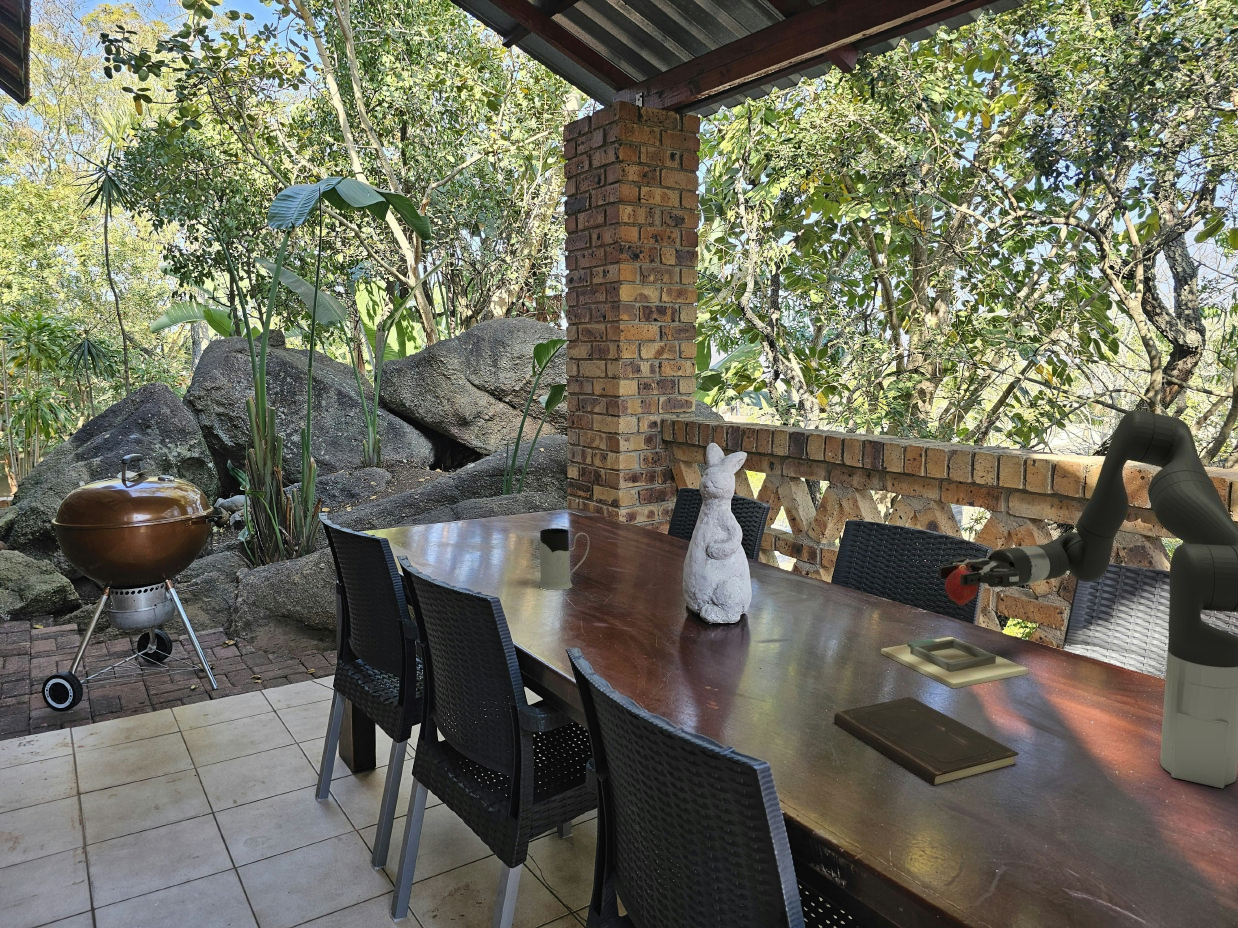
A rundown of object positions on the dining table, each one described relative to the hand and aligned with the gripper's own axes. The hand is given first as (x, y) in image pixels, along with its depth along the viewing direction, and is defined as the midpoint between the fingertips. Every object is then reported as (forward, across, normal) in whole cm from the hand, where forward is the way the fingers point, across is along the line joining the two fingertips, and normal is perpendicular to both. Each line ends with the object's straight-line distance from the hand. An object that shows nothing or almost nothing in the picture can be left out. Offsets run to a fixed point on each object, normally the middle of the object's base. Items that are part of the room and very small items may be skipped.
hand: (951, 576), depth 164 cm
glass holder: (+50, -87, +18) cm, 102 cm away
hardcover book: (+27, +24, +18) cm, 40 cm away
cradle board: (-2, -1, +18) cm, 18 cm away
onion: (-3, 0, +6) cm, 7 cm away
